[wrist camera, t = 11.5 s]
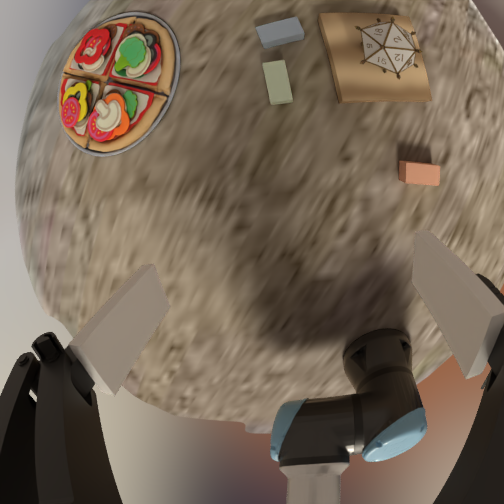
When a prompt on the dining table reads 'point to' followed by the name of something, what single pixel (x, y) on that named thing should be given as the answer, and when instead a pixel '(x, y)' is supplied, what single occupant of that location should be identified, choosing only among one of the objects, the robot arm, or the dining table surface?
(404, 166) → the terracotta brick
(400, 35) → the game die
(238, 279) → the dining table surface
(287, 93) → the sage brick
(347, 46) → the oak block
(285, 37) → the slate blue brick
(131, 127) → the toy pizza
